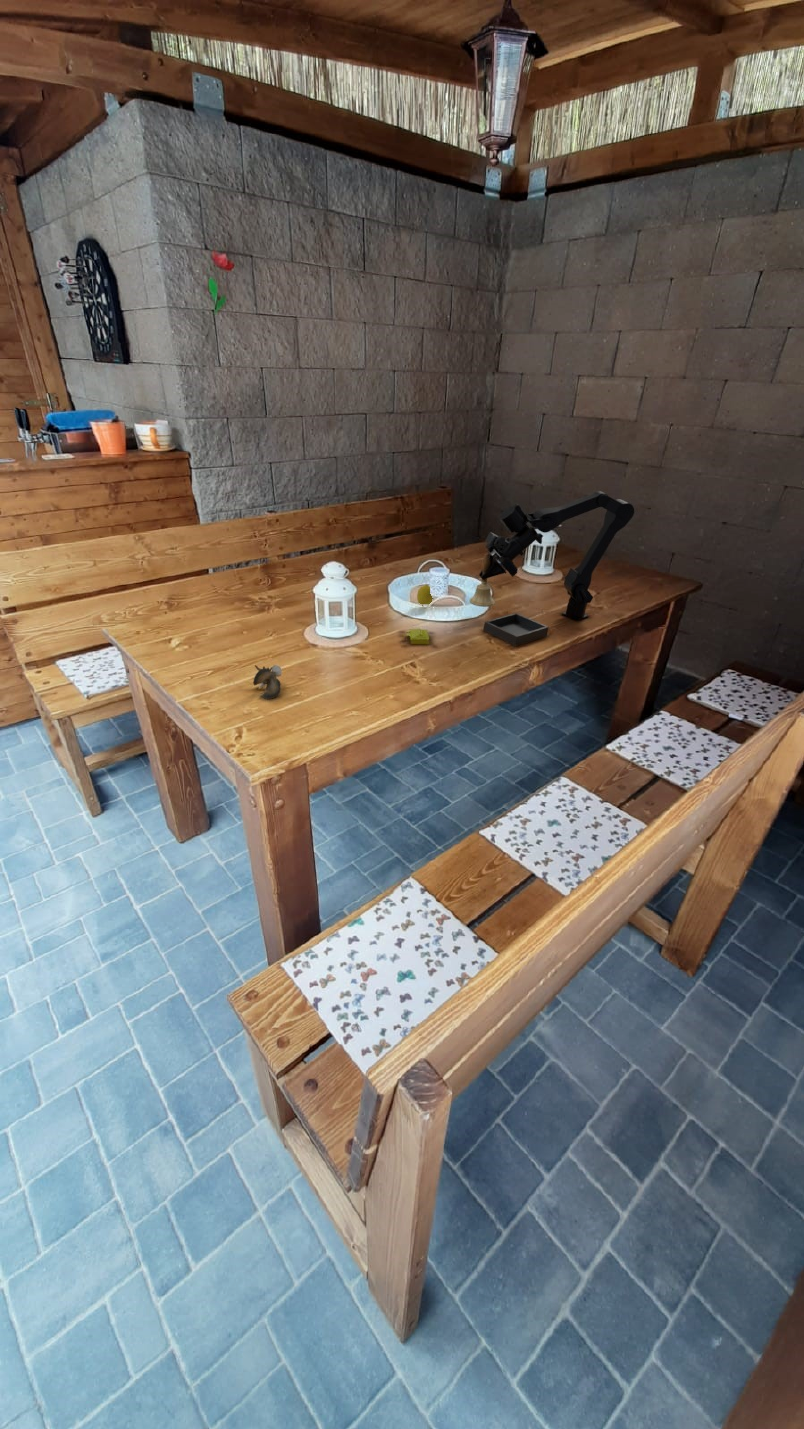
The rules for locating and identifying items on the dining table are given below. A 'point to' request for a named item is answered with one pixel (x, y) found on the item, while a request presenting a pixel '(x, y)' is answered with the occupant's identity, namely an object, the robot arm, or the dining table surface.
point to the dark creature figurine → (268, 680)
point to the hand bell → (483, 588)
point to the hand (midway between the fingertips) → (480, 577)
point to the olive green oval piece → (424, 595)
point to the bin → (515, 629)
